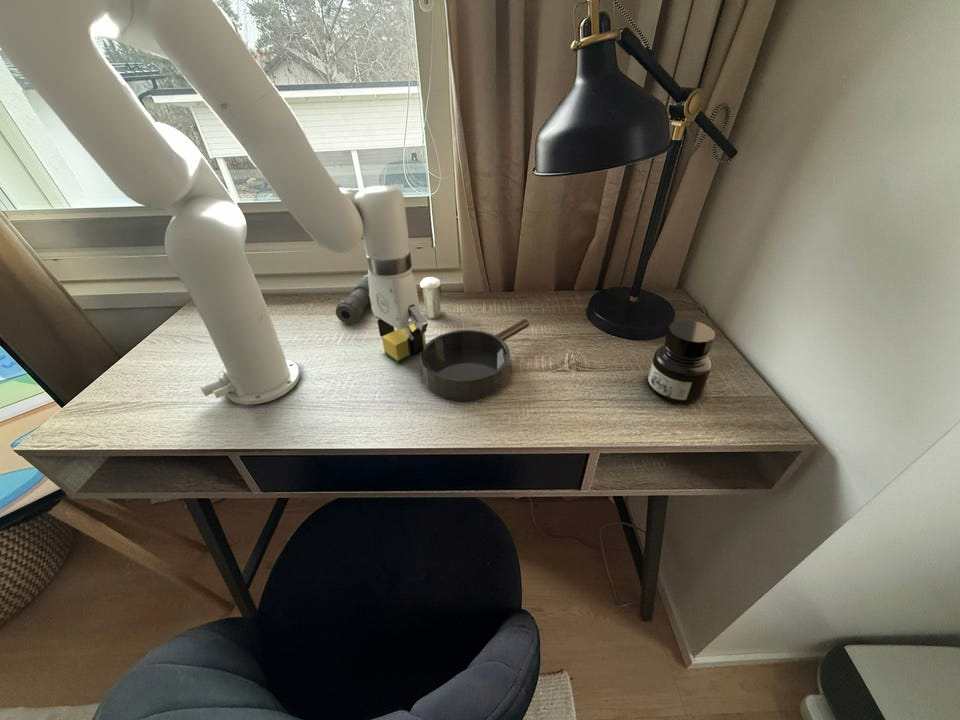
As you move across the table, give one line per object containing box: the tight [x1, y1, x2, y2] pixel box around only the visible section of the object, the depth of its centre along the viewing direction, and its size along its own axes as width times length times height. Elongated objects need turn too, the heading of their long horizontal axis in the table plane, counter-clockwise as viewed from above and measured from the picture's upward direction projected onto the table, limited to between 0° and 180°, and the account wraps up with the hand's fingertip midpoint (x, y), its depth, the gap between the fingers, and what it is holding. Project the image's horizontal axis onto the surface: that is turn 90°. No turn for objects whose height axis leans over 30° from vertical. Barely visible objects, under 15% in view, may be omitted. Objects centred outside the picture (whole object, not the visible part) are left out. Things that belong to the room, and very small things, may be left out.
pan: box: [419, 329, 511, 402], centre depth 78 cm, size 16×16×4 cm
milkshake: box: [419, 276, 444, 320], centre depth 94 cm, size 4×5×10 cm
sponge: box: [381, 324, 427, 365], centre depth 84 cm, size 7×5×4 cm, turn 135°
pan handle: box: [494, 318, 530, 342], centre depth 85 cm, size 9×2×2 cm, turn 135°
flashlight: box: [335, 274, 371, 325], centre depth 99 cm, size 15×5×5 cm, turn 169°
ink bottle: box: [647, 319, 716, 405], centre depth 71 cm, size 10×9×12 cm
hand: (401, 343), depth 84 cm, fingers open, 9 cm apart
